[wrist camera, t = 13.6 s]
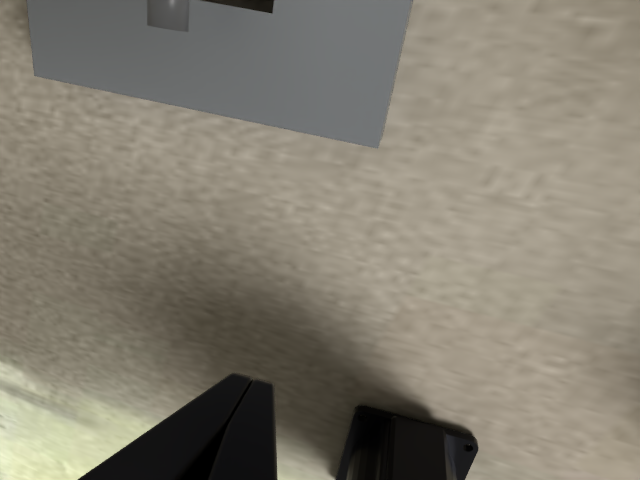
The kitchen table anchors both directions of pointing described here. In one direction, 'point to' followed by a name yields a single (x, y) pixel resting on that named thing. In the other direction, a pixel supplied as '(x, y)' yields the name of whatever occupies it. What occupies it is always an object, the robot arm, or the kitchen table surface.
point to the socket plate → (235, 59)
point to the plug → (168, 14)
